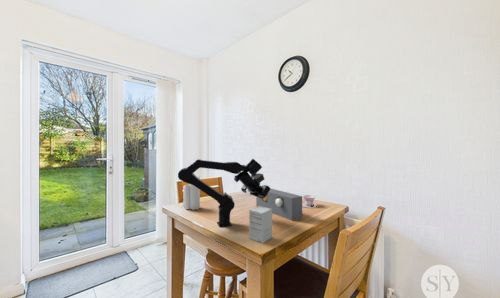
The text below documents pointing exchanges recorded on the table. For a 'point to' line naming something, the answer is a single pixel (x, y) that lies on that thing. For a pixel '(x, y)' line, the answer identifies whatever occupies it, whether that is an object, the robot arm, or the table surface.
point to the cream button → (279, 202)
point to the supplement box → (260, 224)
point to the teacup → (308, 201)
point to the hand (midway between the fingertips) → (263, 198)
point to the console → (290, 204)
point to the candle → (191, 197)
